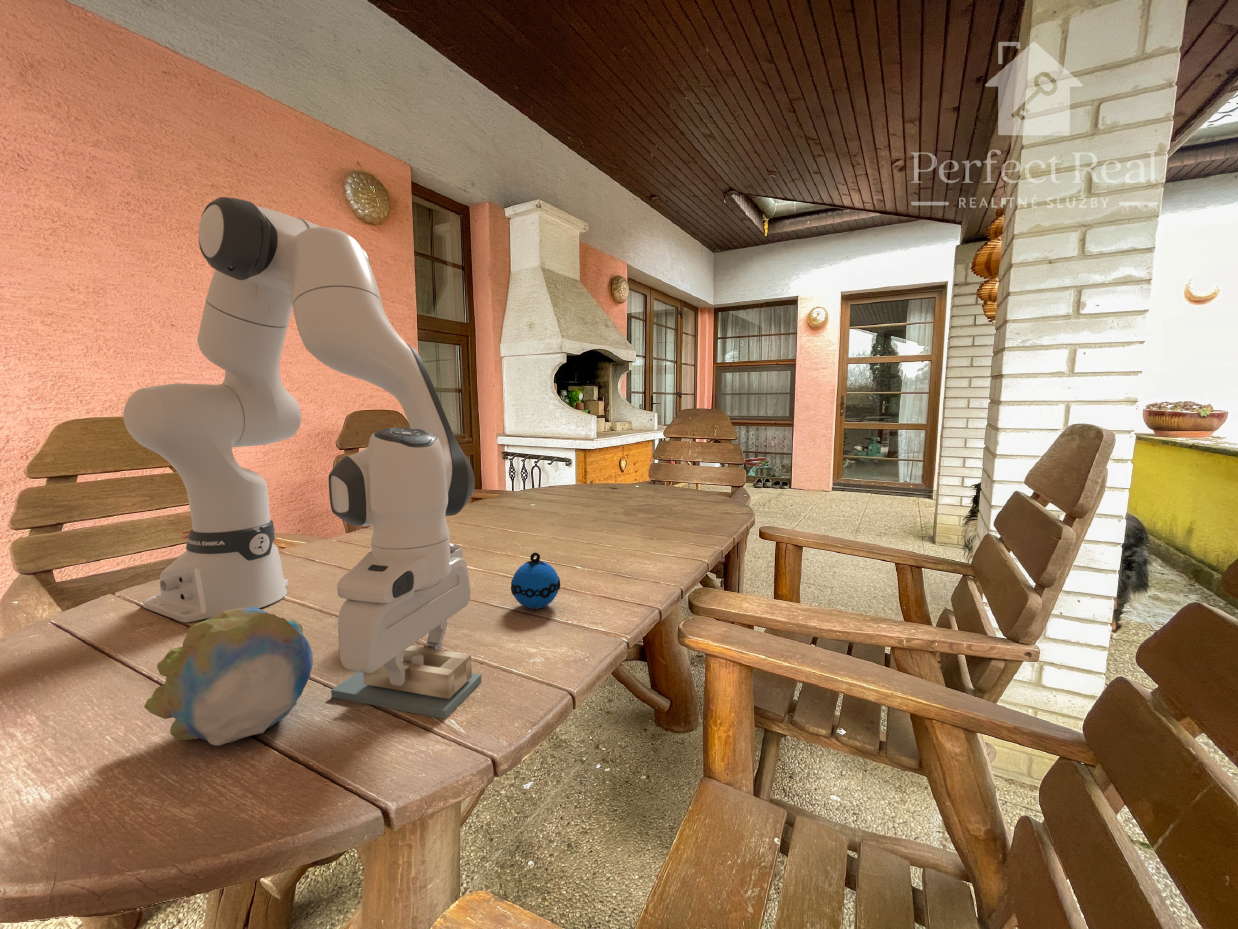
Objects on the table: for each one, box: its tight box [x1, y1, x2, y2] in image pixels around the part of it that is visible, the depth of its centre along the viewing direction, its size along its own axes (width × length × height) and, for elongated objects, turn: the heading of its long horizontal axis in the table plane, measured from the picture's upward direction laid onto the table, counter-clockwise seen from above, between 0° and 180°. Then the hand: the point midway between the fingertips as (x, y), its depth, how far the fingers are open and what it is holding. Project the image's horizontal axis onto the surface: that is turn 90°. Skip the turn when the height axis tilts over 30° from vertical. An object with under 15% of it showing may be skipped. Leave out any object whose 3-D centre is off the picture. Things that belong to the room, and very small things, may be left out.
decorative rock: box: [143, 607, 314, 747], centre depth 56 cm, size 14×16×15 cm
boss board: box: [330, 655, 483, 720], centre depth 63 cm, size 16×8×4 cm, turn 75°
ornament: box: [510, 552, 561, 610], centre depth 88 cm, size 9×9×10 cm
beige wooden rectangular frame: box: [363, 645, 473, 699], centre depth 63 cm, size 12×5×3 cm, turn 75°
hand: (417, 668), depth 63 cm, fingers closed on beige wooden rectangular frame, 5 cm apart
